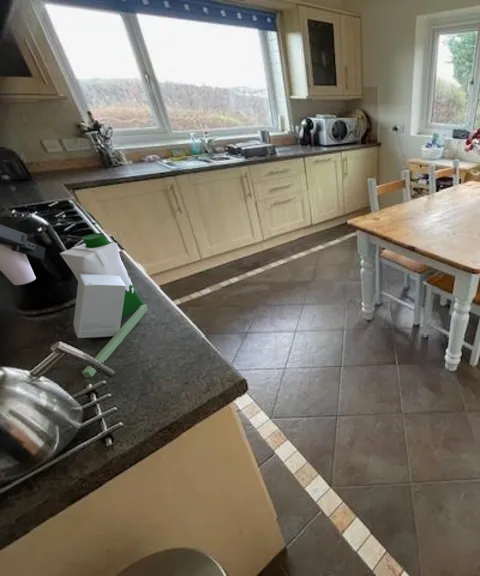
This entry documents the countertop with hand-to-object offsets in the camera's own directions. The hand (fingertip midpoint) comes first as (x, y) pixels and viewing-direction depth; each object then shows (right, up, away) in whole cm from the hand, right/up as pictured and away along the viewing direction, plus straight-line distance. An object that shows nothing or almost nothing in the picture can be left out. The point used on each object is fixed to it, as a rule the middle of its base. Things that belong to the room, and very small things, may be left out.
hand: (25, 254), depth 74 cm
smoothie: (+1, -6, 0) cm, 6 cm away
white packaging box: (+15, -18, +2) cm, 23 cm away
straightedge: (+21, -19, +1) cm, 28 cm away
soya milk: (+13, -14, +11) cm, 22 cm away
